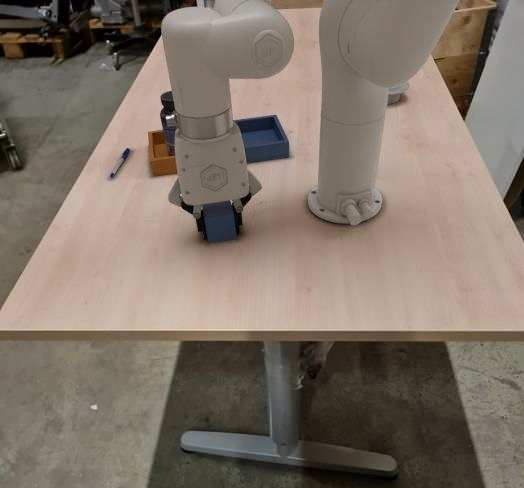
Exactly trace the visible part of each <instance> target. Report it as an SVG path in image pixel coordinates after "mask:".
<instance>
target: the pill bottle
mask: <svg viewBox="0 0 524 488" xmlns="http://www.w3.org/2000/svg"><path fill="white" fill-rule="evenodd" d="M160 104H161V106H162V108H161V110H160V111H159V119H160V124H161V127H162V128H161V129H162V130H163V133H164V138H165V142H166V147H167V152H168V155H169V156H175V131H176V130H177V129H176V126H175V127H173V126H167V122H166V116H167V115H171V114H174V112H173V111H176V110H175V106H174V100H173V95H172V90H169V91H165V92H163V93H162V94H160Z"/></svg>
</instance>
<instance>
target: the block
mask: <svg viewBox="0 0 524 488" xmlns="http://www.w3.org/2000/svg"><path fill="white" fill-rule="evenodd" d="M202 209H203V214H204V219H205V225H206V231H207V237H208V238H207V242H208V244H211V243H217V242H218V243H219V242H225V241H231V240H237V234H236V229H235V220H234V213H233V209H232V200H229V201H223V202H216V203H209V204H202Z"/></svg>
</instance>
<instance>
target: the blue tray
mask: <svg viewBox="0 0 524 488" xmlns="http://www.w3.org/2000/svg"><path fill="white" fill-rule="evenodd" d="M233 121H234V122H235V123H236V124H237V125H238V127H239V129H240V132H241V135H242V140H243V144H244V149H245V156H246V162H247V164H248V163H255V162H263V161H270V160H277V159H285V158H290V140H289V138H288V136H287V134H286V132H285V129H284V128H283V126H282V123H281V121H280V120H279V117H278V115H277V114H270V115H262V116H255V117H254V116H253V117H248V118H240V119H233Z"/></svg>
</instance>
